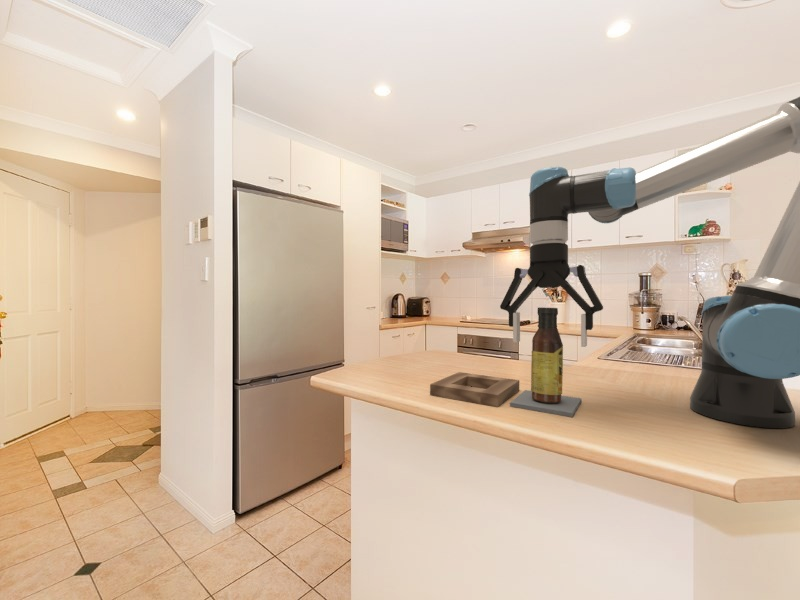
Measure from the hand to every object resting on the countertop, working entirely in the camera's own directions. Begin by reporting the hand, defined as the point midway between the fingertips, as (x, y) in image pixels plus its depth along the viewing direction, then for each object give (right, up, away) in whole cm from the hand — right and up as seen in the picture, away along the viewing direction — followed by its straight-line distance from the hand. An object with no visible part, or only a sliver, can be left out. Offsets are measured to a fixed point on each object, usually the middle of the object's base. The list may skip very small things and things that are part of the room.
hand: (548, 344), depth 79 cm
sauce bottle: (0, -12, 0) cm, 12 cm away
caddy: (-14, -13, +9) cm, 21 cm away
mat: (0, -13, 0) cm, 13 cm away
